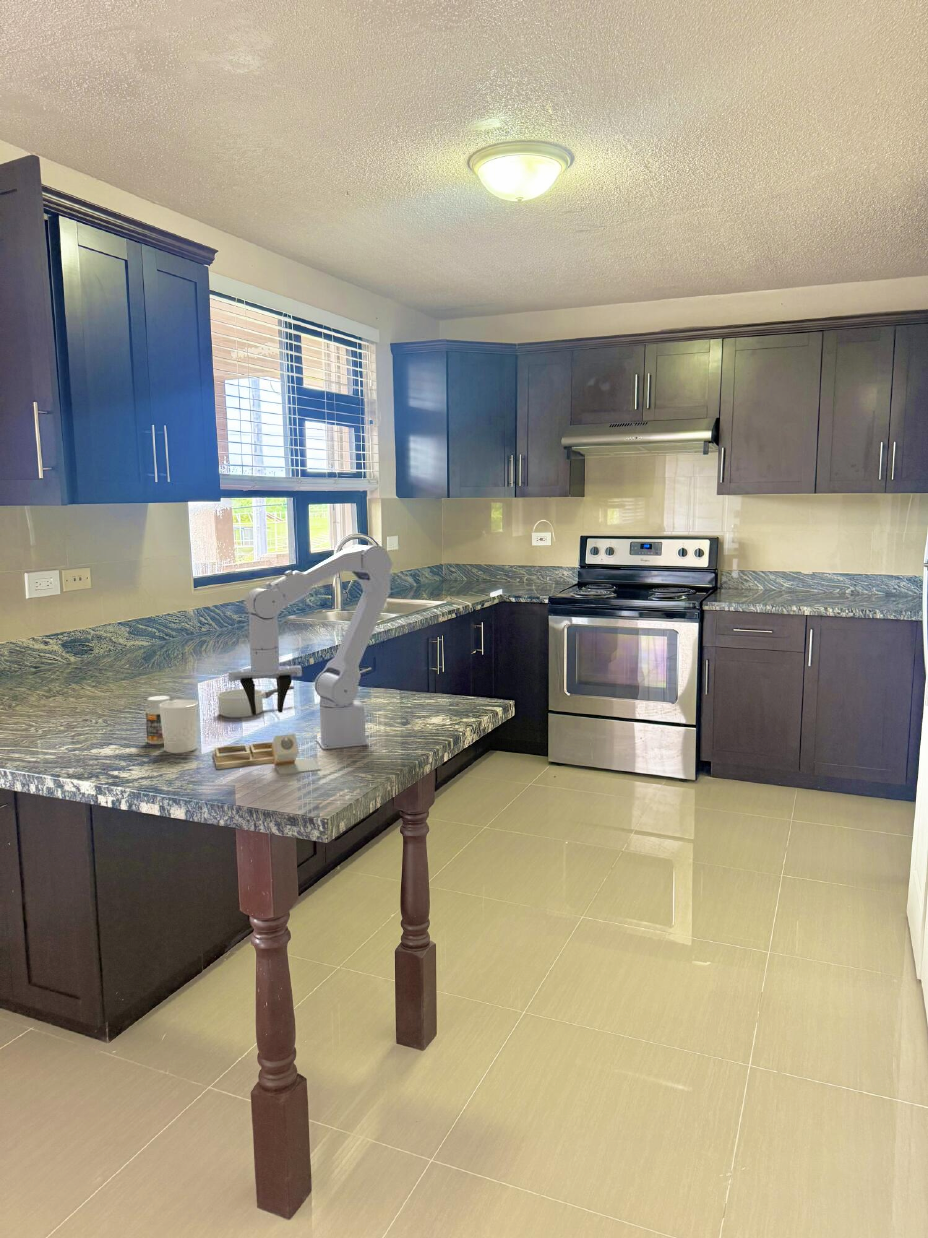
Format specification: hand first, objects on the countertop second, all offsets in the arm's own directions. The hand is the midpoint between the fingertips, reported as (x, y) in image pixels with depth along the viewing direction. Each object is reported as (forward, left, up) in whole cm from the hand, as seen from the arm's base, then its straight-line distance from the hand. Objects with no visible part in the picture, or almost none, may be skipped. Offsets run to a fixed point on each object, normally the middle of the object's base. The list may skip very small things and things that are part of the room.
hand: (266, 712), depth 173 cm
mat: (-4, +9, -9) cm, 14 cm away
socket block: (+4, -1, -9) cm, 10 cm away
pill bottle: (+21, -22, -10) cm, 31 cm away
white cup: (+17, -14, -10) cm, 24 cm away
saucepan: (-3, -42, -10) cm, 43 cm away
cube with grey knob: (-2, +6, -8) cm, 10 cm away
